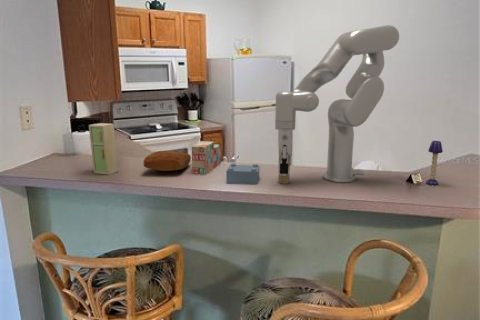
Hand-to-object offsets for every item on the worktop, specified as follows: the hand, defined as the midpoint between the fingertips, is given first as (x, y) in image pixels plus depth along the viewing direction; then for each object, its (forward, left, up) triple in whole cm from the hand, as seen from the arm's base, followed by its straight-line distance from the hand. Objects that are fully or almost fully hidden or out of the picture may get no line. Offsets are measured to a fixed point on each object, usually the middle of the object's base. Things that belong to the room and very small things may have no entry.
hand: (283, 171), depth 136 cm
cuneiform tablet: (+51, -13, -5) cm, 53 cm away
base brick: (+16, -1, -4) cm, 17 cm away
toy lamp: (-56, -4, -5) cm, 56 cm away
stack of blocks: (+35, -19, -5) cm, 40 cm away
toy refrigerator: (+77, -6, -5) cm, 77 cm away
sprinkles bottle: (0, 0, -5) cm, 5 cm away
